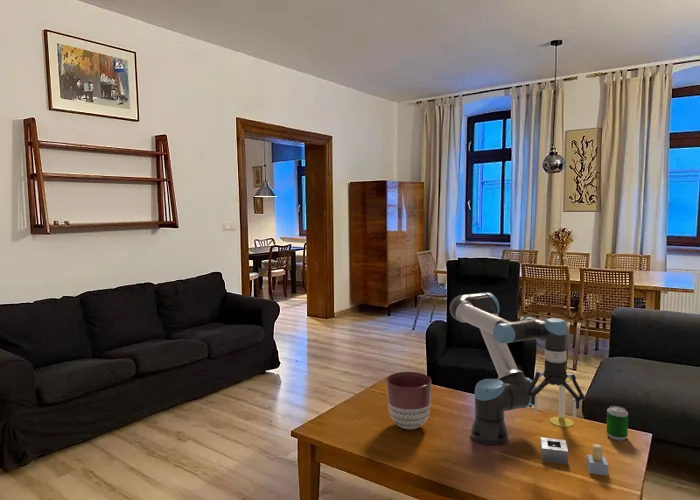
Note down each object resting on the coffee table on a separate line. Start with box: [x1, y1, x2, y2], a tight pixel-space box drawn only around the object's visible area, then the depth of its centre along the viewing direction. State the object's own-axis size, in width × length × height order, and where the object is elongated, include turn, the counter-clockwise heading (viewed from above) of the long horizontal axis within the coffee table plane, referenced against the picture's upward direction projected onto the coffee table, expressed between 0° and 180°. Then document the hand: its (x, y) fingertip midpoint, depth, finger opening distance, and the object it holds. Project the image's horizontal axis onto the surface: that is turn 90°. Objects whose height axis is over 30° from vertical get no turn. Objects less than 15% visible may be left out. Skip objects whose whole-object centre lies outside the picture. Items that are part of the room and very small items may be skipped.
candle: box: [549, 377, 575, 428], centre depth 211 cm, size 10×10×38 cm
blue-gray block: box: [586, 443, 609, 477], centre depth 174 cm, size 6×6×9 cm
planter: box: [386, 371, 432, 430], centre depth 212 cm, size 20×20×21 cm
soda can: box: [606, 405, 629, 441], centre depth 198 cm, size 8×8×12 cm
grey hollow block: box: [539, 436, 569, 465], centre depth 184 cm, size 9×9×5 cm
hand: (554, 414), depth 183 cm, fingers open, 13 cm apart
